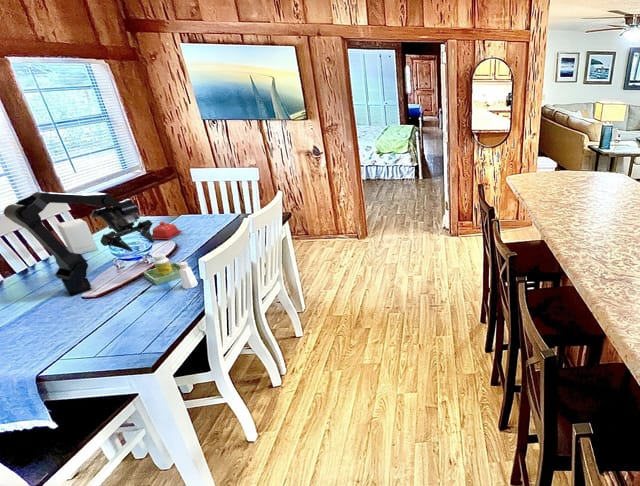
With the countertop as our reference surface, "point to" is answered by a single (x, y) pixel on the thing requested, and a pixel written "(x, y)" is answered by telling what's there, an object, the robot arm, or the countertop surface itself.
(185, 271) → the pepper shaker
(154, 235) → the butter dish
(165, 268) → the supplement bottle
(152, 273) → the green tray
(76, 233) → the rectangular carton
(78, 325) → the countertop surface
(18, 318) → the countertop surface
